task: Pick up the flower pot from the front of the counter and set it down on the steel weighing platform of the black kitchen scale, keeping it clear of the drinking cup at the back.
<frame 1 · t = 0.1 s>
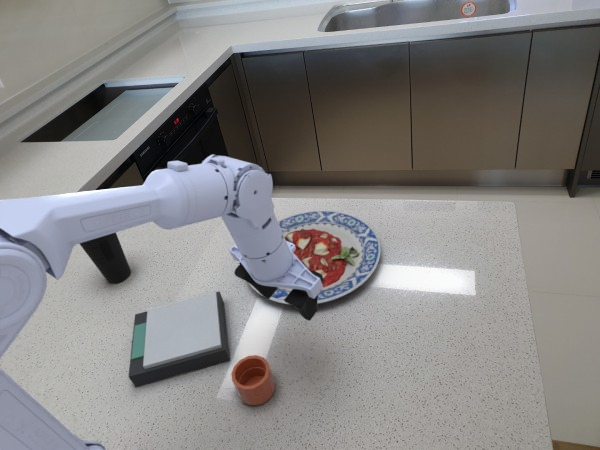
hand: (290, 303, 66), 10 cm above the table, tool pointing down, fingers open, 7 cm apart
flower pot: (257, 389, 67), on the table
scale: (188, 339, 77), on the table
ceramic plate: (312, 261, 87), on the table
drinking cup: (119, 276, 93), on the table
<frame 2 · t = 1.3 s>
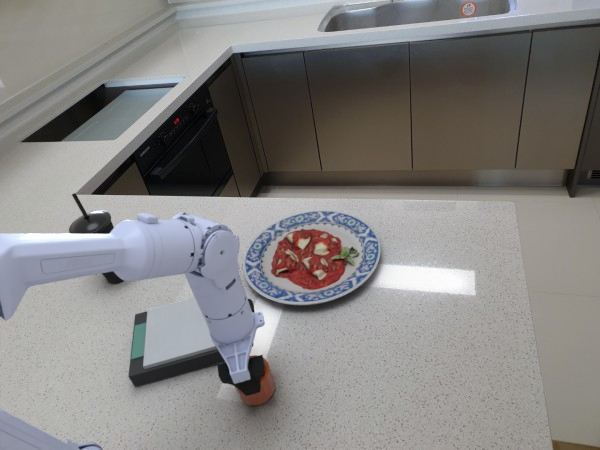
hand: (249, 368, 64), 5 cm above the table, tool pointing down, fingers open, 7 cm apart
nothing on the table moved.
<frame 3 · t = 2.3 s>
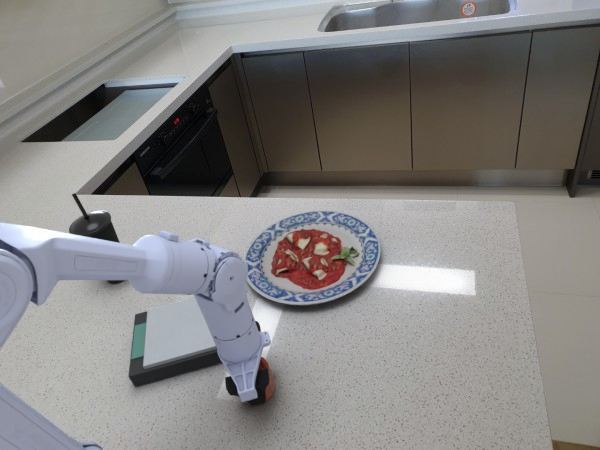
hand: (255, 384, 66), 1 cm above the table, tool pointing down, fingers closed on flower pot, 5 cm apart
flower pot: (257, 389, 67), on the table, touching gripper
everything else where it was.
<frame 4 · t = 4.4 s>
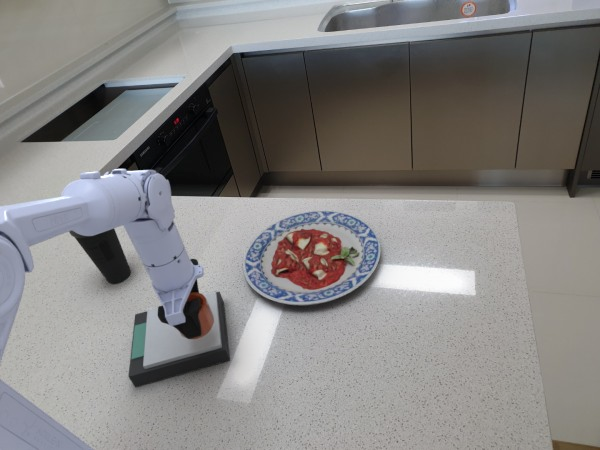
hand: (194, 320, 68), 8 cm above the table, tool pointing down, fingers closed on flower pot, 5 cm apart
flower pot: (197, 326, 69), point 7 cm above the table, touching gripper
everything else where it was.
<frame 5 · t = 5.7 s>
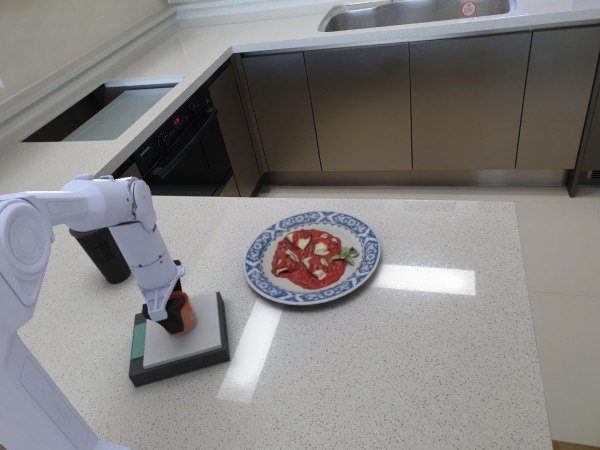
hand: (177, 317, 73), 6 cm above the table, tool pointing down, fingers closed on flower pot, 5 cm apart
flower pot: (180, 322, 74), point 4 cm above the table, touching gripper
everything else where it was.
when the fingers open (5 cm above the table, at t = 6.5 s): flower pot stays where it is, resting on scale.
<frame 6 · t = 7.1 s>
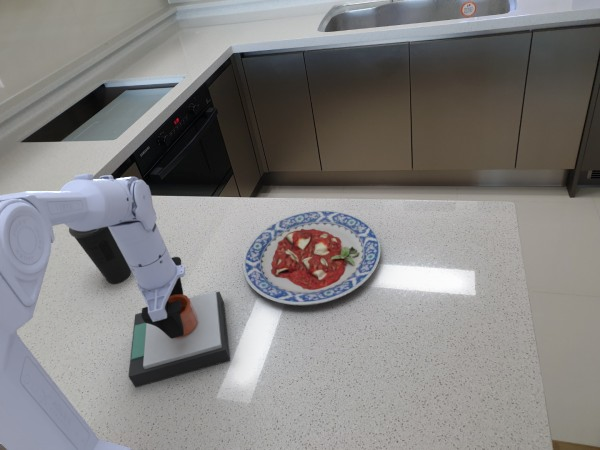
hand: (177, 317, 73), 6 cm above the table, tool pointing down, fingers open, 7 cm apart
flower pot: (182, 325, 74), point 4 cm above the table, touching scale
everything else where it was.
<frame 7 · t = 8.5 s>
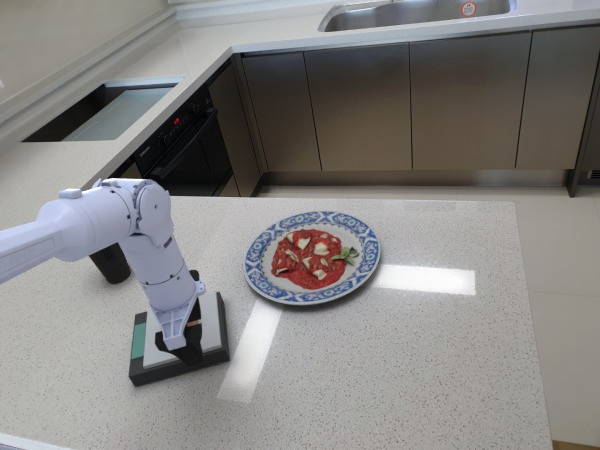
hand: (195, 340, 63), 10 cm above the table, tool pointing down, fingers open, 7 cm apart
nothing on the table moved.
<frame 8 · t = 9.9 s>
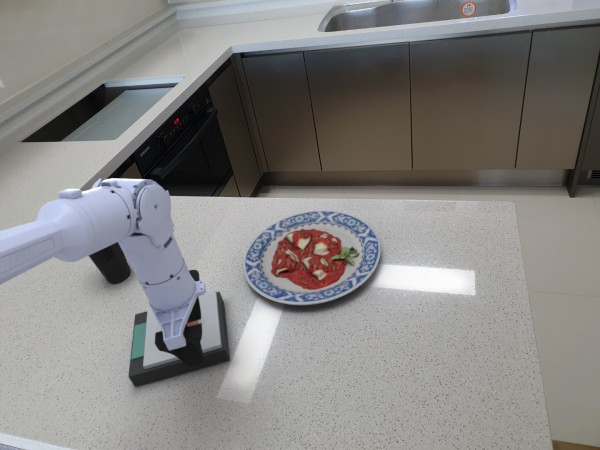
hand: (195, 340, 63), 10 cm above the table, tool pointing down, fingers open, 7 cm apart
nothing on the table moved.
at the end: flower pot inside the target area on the scale (0.1 cm from its centre), point 3.6 cm above the scale's base; flower pot tilted 0°; flower pot touching scale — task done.
